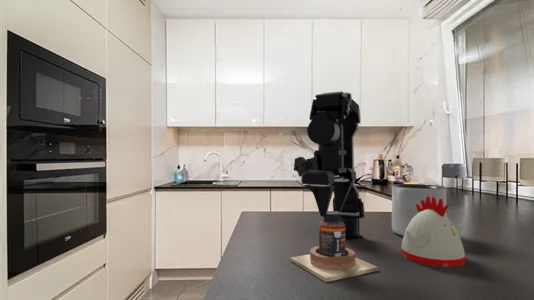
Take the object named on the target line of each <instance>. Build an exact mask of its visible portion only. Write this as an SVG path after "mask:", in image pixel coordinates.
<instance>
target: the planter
mask: <svg viewBox="0 0 534 300" xmlns="http://www.w3.org/2000/svg"><path fill="white" fill-rule="evenodd" d="M428 196H429V197H430V200H431V202H432V197H435V199H436V203H437V205H438V202H439V199H443V208H444V207H445V205H448V204H447V187H446V186H444V185H436V184H422V183H421V184H419V183H399V184H398V183H397V184H393V185H391V231H393V233H395V234H397V235H399V236H401V237H404V234H405V231H406V229H407V226H408V224H409V223H410V221H411V220H412V219H413V218H414V217H415V216H416V215H417V214H418V213H419V212H418V210H417V207H416V204H419V205H420V207H421V209H422V205H421V200H424V201H425V203H426V197H428ZM445 216H446V217H447V218H448V210H447V211H446V213H445Z"/></svg>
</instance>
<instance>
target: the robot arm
mask: <svg viewBox="0 0 534 300" xmlns="http://www.w3.org/2000/svg"><path fill="white" fill-rule="evenodd" d="M314 97H315V98H312V103H311V107H310V108H311V109H310V113H309V120H310V122H309V123H308V126H307V128H306V133H307V137H308V138H309V139H310V141H311V142H312V143H314V144H316V145H317V147H318V148H317V150H316V149H315V150H314V152H313V156H312V157H310V158H305V157H304V156H298V157H296V158H294V163H293V171H295V172H297V175H298V178H300V177H301V184H302V185H304V187H305V188H306V189H308V190H309V191H311V193H312V194H313V196H314V199H315V203H316V206H317V209H318V212H319V213H318V214H319V215H320V217H325V216H326V214H327V211H329V208H330V204H331V201H332V208H333V209H332V211H335V212H340V213H341V221H342V222H343V223H344V224H345V240H351V239H358V238H363V237H364V235H363V234H360V219H364V218H365V204H364V202H363V200H362V198H361V197H360V191H359V190H358V188H357V187H356V185H355V181H356V180H357V171H356V170H355V169H354V168H355V167H354V166H355V164H354V163H355V162H354V161H355V159H354V156H355V155H354V152H355V151H354V138H355V135H356V134H357V132H358V130H359V124H361V109H360V105H359V104H358V103H357V102H356V101H355V100H354V98H352V93H350V92H344V91H333V92H321V93H320V92H319V93H316V94H315V96H314ZM332 196H333V197H332ZM332 198H333V199H332Z"/></svg>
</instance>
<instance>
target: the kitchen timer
mask: <svg viewBox="0 0 534 300" xmlns="http://www.w3.org/2000/svg"><path fill="white" fill-rule="evenodd" d="M421 205H422V209H421V207H420V205H419V204H416V207H417V210H418V212H419V213H418V214H417V215H416V216H415V217H414V218H413V219H412V220H411V221H410V223H409V224H408V226H407V229H406V231H405V234H404V236H402V237H403V238H402V241H401V249H400V250H401V255H402V257H403V258H405V259H406V260H408V261H411V262H414V263H417V264H421V265H425V266H431V267H439V268H454V267H455V268H456V267H460V266H464V265H465V264H466V253H465V249H464V246H463V245H464V244H463V243H462V240H461V237H460V235H459V232H458V230H457V228H456V227H455V225H454V224H453V222H452V221H451V220H450V218H448V216H447V217H446V216H445V213H446V211H447V212H448V209H449V204H447V205H445V207H444V208H443V199H439V202H438V205H437V203H436V199H435V197H432V202H431V200H430V197H429V196H428V197H426V203H425V201H424V200H421Z"/></svg>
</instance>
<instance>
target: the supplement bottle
mask: <svg viewBox="0 0 534 300" xmlns="http://www.w3.org/2000/svg"><path fill="white" fill-rule="evenodd" d="M318 235H319V236H318V241H319V242H318V246H319V254H320V255H323V256H329V257H341V256H346V252H345V251H346V250H345V249H346V248H347V247H346V239H345V224H344V223H343V222H342V221H341V213H340V212H335V211H333V210H331V211H330V210H328V211H327V214H326V216H325V217H323V219H322V220H321V221H320V222H319V224H318Z"/></svg>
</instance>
